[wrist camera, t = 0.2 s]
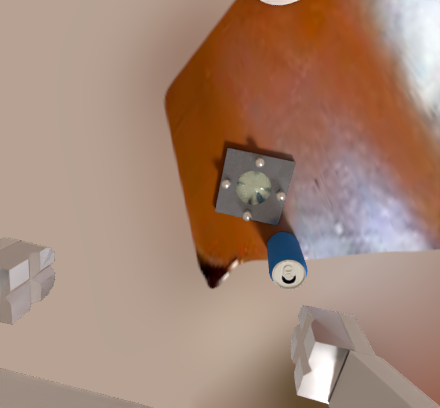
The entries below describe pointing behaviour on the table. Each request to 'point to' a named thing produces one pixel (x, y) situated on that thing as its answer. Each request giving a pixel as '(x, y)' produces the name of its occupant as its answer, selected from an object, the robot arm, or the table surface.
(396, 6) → the table surface
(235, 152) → the plate
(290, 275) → the beverage can
